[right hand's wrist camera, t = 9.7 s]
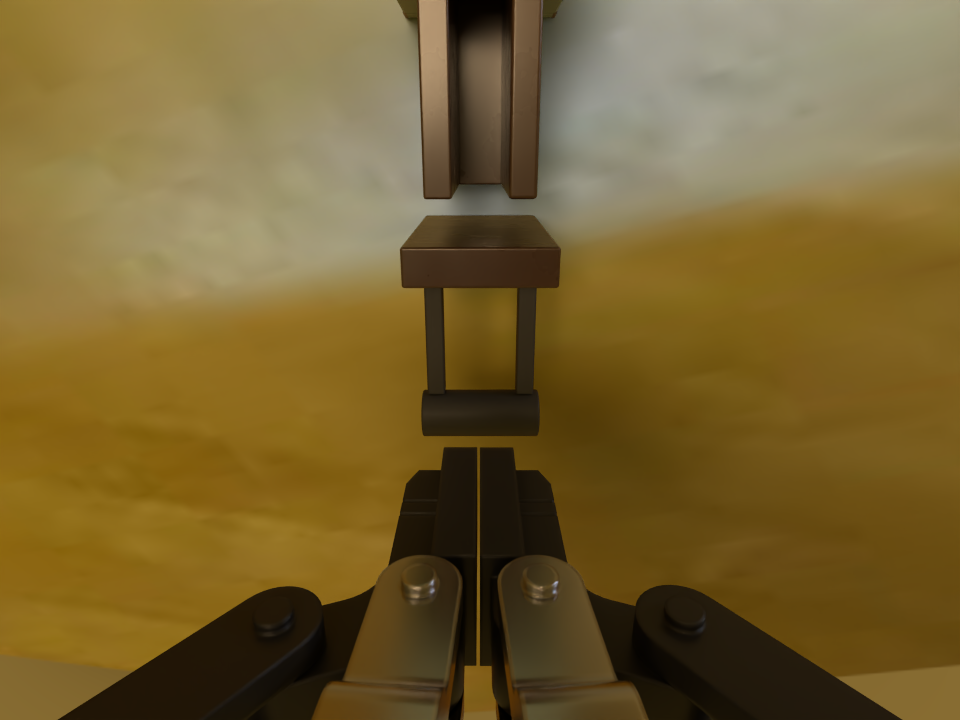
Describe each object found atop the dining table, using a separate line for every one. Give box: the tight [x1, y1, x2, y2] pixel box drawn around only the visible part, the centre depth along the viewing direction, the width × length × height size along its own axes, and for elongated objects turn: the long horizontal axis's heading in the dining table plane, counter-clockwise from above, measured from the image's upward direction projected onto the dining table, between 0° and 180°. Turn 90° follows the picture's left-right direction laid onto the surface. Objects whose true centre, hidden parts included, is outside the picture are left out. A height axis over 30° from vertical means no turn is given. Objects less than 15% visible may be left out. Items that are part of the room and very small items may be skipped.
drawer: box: [400, 0, 561, 436], centre depth 18 cm, size 26×5×8 cm, turn 0°
